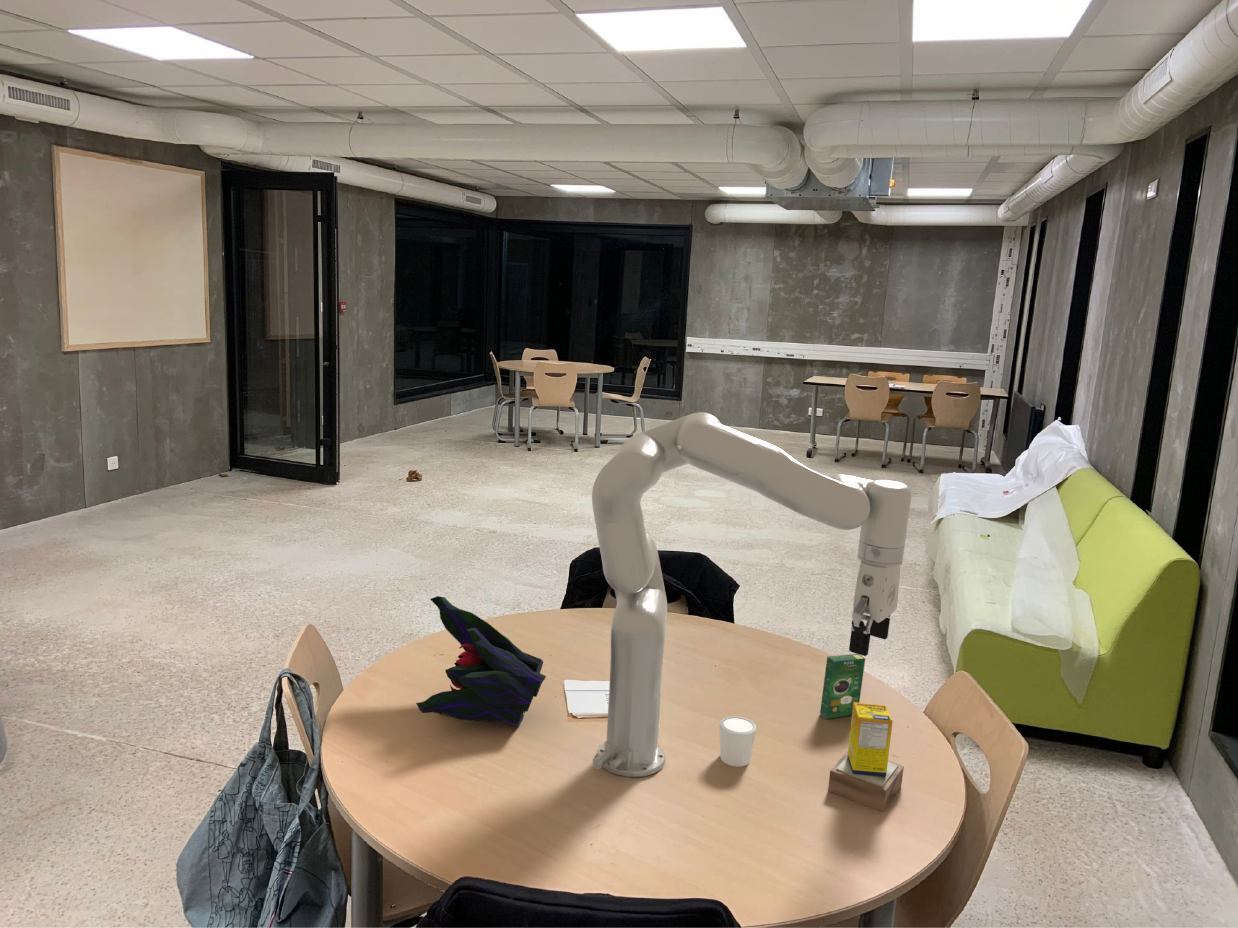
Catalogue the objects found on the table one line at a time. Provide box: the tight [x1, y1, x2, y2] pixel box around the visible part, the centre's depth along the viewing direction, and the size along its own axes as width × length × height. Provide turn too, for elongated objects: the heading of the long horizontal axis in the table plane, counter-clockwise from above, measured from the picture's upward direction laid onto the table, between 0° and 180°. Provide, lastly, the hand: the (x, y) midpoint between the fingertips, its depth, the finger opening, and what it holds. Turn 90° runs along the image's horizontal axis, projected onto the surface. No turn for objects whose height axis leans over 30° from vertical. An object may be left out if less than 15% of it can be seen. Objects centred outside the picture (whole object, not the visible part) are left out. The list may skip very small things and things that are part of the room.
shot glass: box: [719, 715, 758, 767], centre depth 166 cm, size 7×7×7 cm
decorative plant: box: [415, 595, 546, 728], centre depth 178 cm, size 21×26×30 cm
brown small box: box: [827, 750, 905, 812], centre depth 158 cm, size 10×10×4 cm
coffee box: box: [819, 653, 866, 720], centre depth 184 cm, size 8×3×13 cm, turn 110°
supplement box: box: [847, 702, 893, 776], centre depth 156 cm, size 6×6×11 cm
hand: (868, 644), depth 155 cm, fingers open, 9 cm apart
